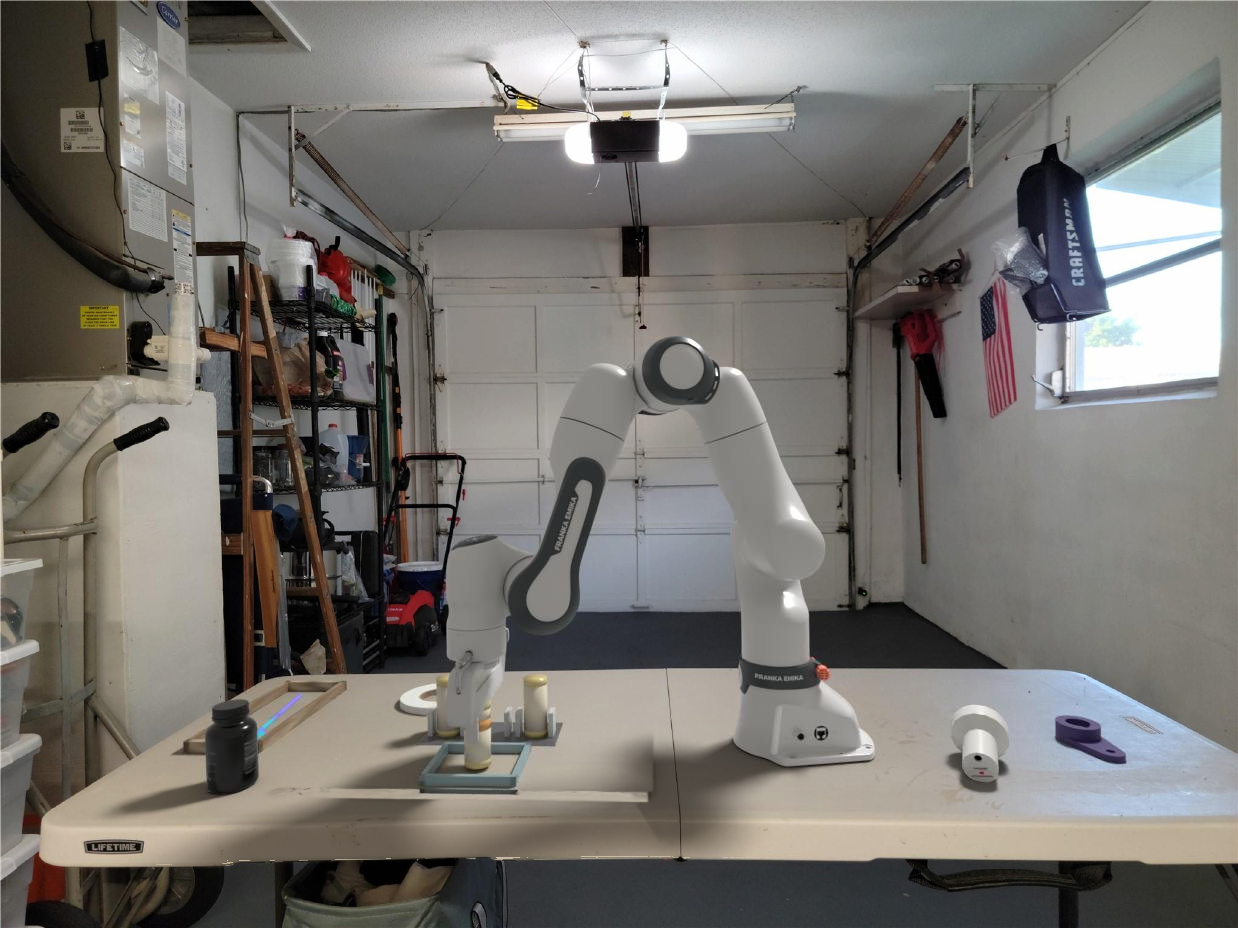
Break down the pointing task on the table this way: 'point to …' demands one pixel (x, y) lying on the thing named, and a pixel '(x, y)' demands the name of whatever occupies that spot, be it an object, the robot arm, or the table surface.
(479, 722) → the cylinder
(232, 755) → the supplement bottle
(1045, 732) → the table surface
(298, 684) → the wooden frame
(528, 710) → the fuse
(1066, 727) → the lever
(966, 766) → the spotlight
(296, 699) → the spoon
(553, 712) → the clip block
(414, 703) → the roll of tape
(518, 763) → the tray
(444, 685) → the fuse
